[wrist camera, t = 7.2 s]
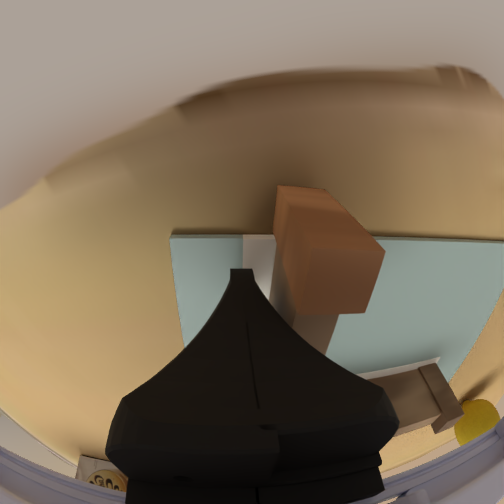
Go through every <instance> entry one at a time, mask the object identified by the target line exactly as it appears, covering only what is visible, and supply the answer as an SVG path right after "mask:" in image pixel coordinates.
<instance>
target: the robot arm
mask: <svg viewBox="0 0 504 504" xmlns="http://www.w3.org/2000/svg"><path fill="white" fill-rule="evenodd" d="M399 424H400V421H399V419H398V416H397V414H396V412H395V409H394V407H393V405H392V403H391V401H390V399H389V397H388V396H387V394H386V392H385V390H384V388H383V387H380V386H378V385H376V384H374V383H372V382H370V381H368V380H366V379H364V378H362V377H360V376H358V375H356V374H354V373H352V372H350V371H348V370H347V369H345V368H343V367H342V366H340V365H338V364H337V363H335V362H334V361H332V360H331V359H329V358H328V357H326V356H325V355H324V354H322V353H321V352H319V351H318V350H317V349H315V348H314V347H313V346H311V345H310V344H309V343H308V342H307V341H305V340H304V339H303V338H302V337H301V336H300V335H299V334H298V333H297V332H296V331H294V330H293V329H292V328H291V327H290V326H289V324H288V323H287V322H286V321H285V320H284V319H283V318H282V317H281V316H280V314H279V313H278V312H277V311H276V310H275V308H274V307H273V306H272V305H271V303H270V302H269V301H268V299H267V298H266V297H265V295H264V294H263V292H262V291H261V289H260V288H259V286H258V284H257V283H256V281H255V277H254V273H253V269H252V268H234V269H230V280H229V283H228V285H227V288H226V290H225V292H224V294H223V296H222V298H221V299H220V301H219V303H218V305H217V306H216V308H215V310H214V311H213V313H212V314H211V316H210V318H209V319H208V320H207V322H206V323H205V325H204V326H203V327H202V329H201V330H200V331H199V332H198V334H197V335H196V336H195V337H194V338H193V340H192V341H191V342H190V343H189V344H188V345H187V346H186V347H185V348H184V349H183V350H182V351H181V352H180V353H179V354H178V355H177V356H176V357H175V358H174V359H173V360H172V361H171V362H170V363H169V364H167V365H166V366H165V367H164V368H163V369H162V370H161V371H159V372H158V373H157V374H156V375H155V376H153V377H152V378H151V379H149V380H148V381H147V382H145V383H144V384H142V385H141V386H139V387H138V388H137V389H135V390H134V391H132V392H131V393H129V394H128V395H126V396H125V397H123V398H122V400H121V402H120V404H119V406H118V408H117V410H116V413H115V415H114V418H113V420H112V423H111V426H110V430H109V435H108V439H107V444H106V448H105V454H106V456H107V457H108V459H109V460H110V461H111V463H112V464H114V465H115V466H116V467H117V468H118V469H119V470H120V471H121V472H122V473H123V474H125V475H126V476H127V477H128V483H127V490H126V492H122V491H117V490H113V489H109V488H105V487H101V486H98V485H94V484H91V483H87V482H84V481H81V480H78V479H75V478H72V477H69V476H66V475H63V474H61V473H58V472H55V471H53V470H50V469H48V468H45V467H43V466H40V465H38V464H36V463H34V462H31V461H29V460H27V459H25V458H23V457H21V456H19V455H17V454H15V453H13V452H11V451H9V450H7V449H5V448H3V447H1V446H0V504H378V503H381V502H383V501H386V500H389V499H392V498H395V497H397V496H398V498H397V499H396V500H395V501H393V502H391V503H388V504H497V503H498V502H499V501H500V500H501V499H502V498H503V497H504V417H503V418H502V419H501V420H500V421H499V422H498V423H497V424H496V425H495V427H493V428H491V429H490V430H488V431H487V432H485V433H483V434H482V435H480V436H478V437H477V438H475V439H473V440H471V441H470V442H468V443H466V444H464V445H462V446H460V447H459V448H457V449H455V450H453V451H451V452H449V453H447V454H445V455H443V456H440V457H438V458H436V459H434V460H432V461H429V462H427V463H425V464H422V465H420V466H418V467H415V468H413V469H410V470H408V471H405V472H402V473H399V474H397V475H394V476H391V477H388V478H385V479H382V478H381V474H380V471H379V468H378V466H380V465H381V464H382V460H381V457H380V454H379V451H380V450H381V449H382V448H383V447H384V446H385V445H386V444H387V443H388V442H389V441H390V439H391V438H392V437H393V436H394V435H395V433H396V432H397V430H398V428H399Z"/></svg>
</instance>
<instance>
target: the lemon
mask: <svg viewBox="0 0 504 504" xmlns="http://www.w3.org/2000/svg"><path fill="white" fill-rule="evenodd" d="M462 410H463V411H464V413H465V414H464V415H463V416H462V417H461V418H460V420H459V421H458V422H457V423H456V424H455V425H454V430H455V435H456V438H457V441H458V442H459V444H460V446H462V445H464V444H466V443H468V442H470V441H471V440H473V439H475V438H477V437H478V436H480V435H482V434H483V433H485V432H487V431H488V430H490V429H491V428H493V427H495V425H496V424H497V423H498V422H499V421H500V417H499V414H498V412H497V410H496V408H495V407H494V405H493V404H492V403H490V402H489V401H487V400H483V399H477V400H474V401H469V400H466V401H464V402H463V404H462Z"/></svg>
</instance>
